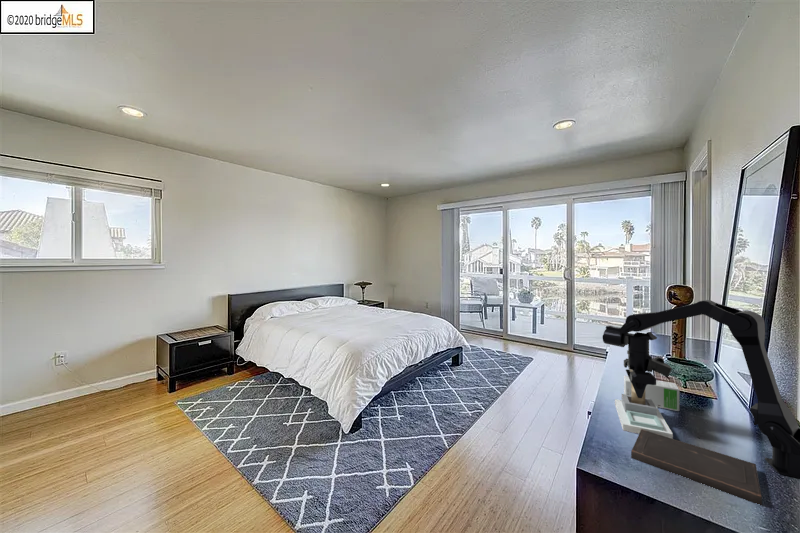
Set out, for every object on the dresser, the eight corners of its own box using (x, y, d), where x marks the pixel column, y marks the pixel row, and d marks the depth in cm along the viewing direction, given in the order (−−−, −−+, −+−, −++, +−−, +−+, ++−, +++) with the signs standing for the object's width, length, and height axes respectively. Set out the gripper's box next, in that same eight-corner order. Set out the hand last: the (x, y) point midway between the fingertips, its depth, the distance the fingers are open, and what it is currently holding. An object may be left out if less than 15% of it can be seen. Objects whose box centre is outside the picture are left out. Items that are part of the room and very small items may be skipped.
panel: (672, 440, 91) (672, 424, 91) (623, 430, 97) (623, 414, 97) (656, 411, 109) (656, 397, 108) (614, 404, 114) (614, 391, 114)
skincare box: (680, 411, 108) (625, 402, 116) (675, 404, 114) (623, 396, 122) (679, 388, 108) (624, 380, 116) (675, 381, 114) (623, 375, 122)
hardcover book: (641, 436, 94) (641, 429, 94) (755, 472, 78) (755, 463, 78) (630, 460, 83) (630, 451, 83) (761, 508, 67) (761, 498, 67)
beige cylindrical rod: (646, 409, 104) (646, 379, 103) (632, 406, 105) (632, 377, 105) (644, 404, 107) (644, 375, 107) (630, 402, 109) (630, 374, 109)
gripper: (677, 361, 94) (677, 412, 94) (661, 346, 110) (661, 390, 110) (632, 356, 99) (632, 404, 99) (623, 343, 116) (623, 384, 116)
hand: (638, 395), depth 106 cm, fingers closed on beige cylindrical rod, 4 cm apart
